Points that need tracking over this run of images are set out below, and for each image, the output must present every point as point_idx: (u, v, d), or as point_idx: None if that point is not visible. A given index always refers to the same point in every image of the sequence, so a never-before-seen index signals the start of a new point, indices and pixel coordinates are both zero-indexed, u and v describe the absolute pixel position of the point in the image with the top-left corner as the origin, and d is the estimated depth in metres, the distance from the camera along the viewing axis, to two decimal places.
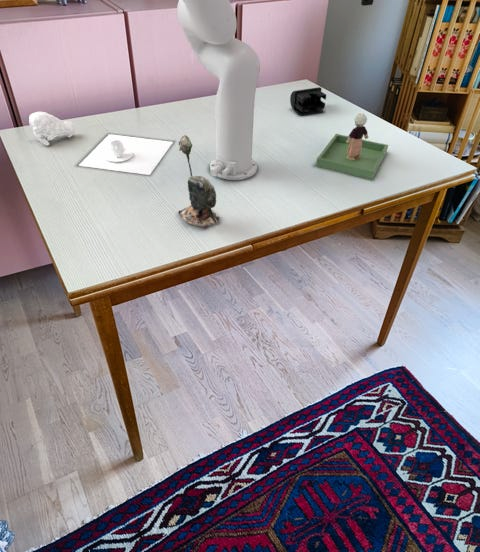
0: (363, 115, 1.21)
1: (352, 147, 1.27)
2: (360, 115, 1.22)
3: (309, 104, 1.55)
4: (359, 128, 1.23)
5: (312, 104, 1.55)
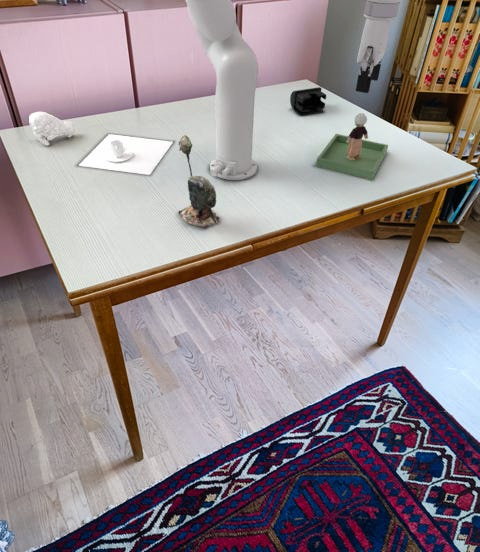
0: (363, 115, 1.21)
1: (352, 147, 1.27)
2: (360, 115, 1.22)
3: (309, 104, 1.55)
4: (359, 128, 1.23)
5: (312, 104, 1.55)
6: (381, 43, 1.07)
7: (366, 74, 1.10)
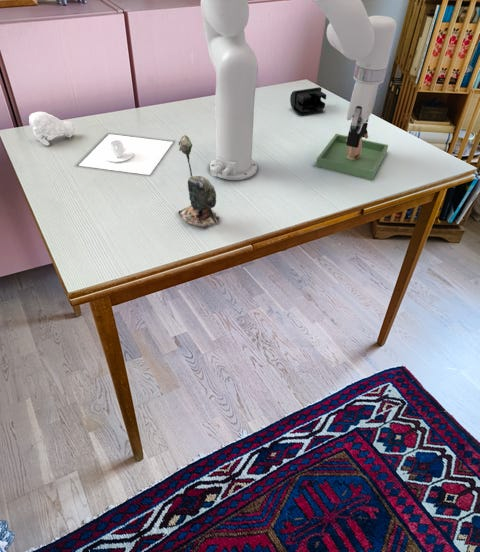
0: None
1: (352, 147, 1.27)
2: None
3: (309, 104, 1.55)
4: None
5: (312, 104, 1.55)
6: (369, 104, 1.15)
7: (356, 132, 1.20)
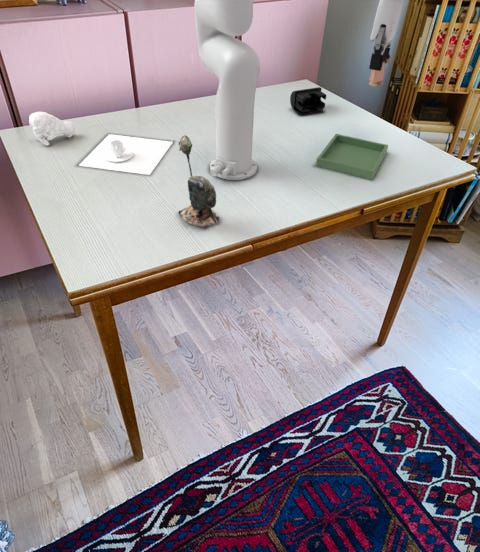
0: None
1: (374, 72, 1.27)
2: None
3: (309, 104, 1.55)
4: None
5: (312, 104, 1.55)
6: (393, 22, 1.16)
7: (379, 53, 1.20)
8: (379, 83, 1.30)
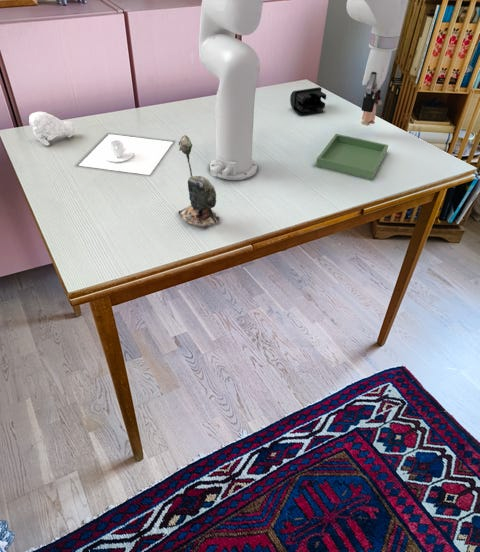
0: None
1: (366, 112, 1.36)
2: None
3: (309, 104, 1.55)
4: None
5: (312, 104, 1.55)
6: (383, 69, 1.25)
7: (370, 97, 1.29)
8: (371, 122, 1.39)
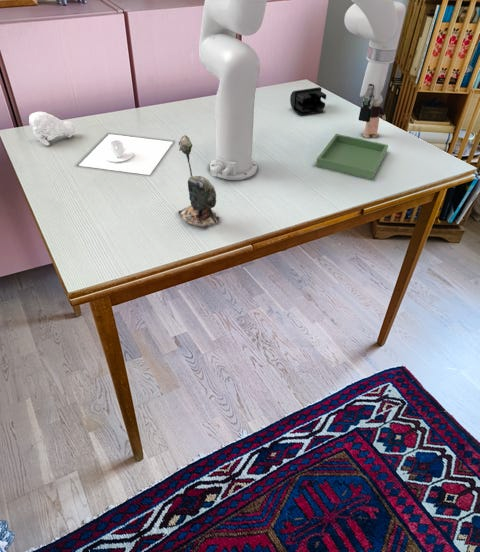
0: None
1: (366, 125, 1.39)
2: None
3: (309, 104, 1.55)
4: (374, 107, 1.36)
5: (312, 104, 1.55)
6: (380, 82, 1.27)
7: (367, 107, 1.30)
8: (372, 135, 1.41)
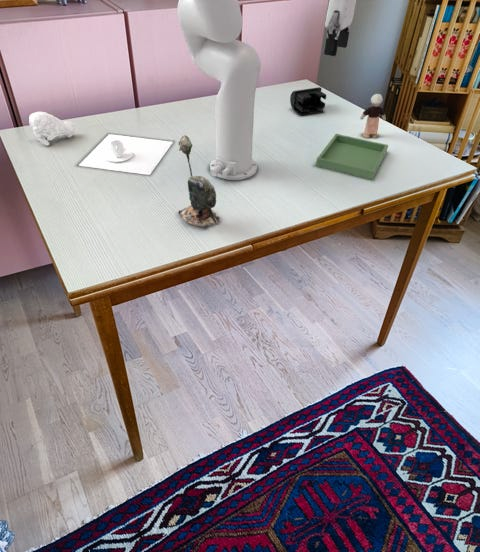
0: (378, 95, 1.33)
1: (366, 125, 1.39)
2: (376, 95, 1.34)
3: (309, 104, 1.55)
4: (374, 107, 1.36)
5: (312, 104, 1.55)
6: (347, 8, 1.16)
7: (333, 37, 1.18)
8: (372, 135, 1.41)
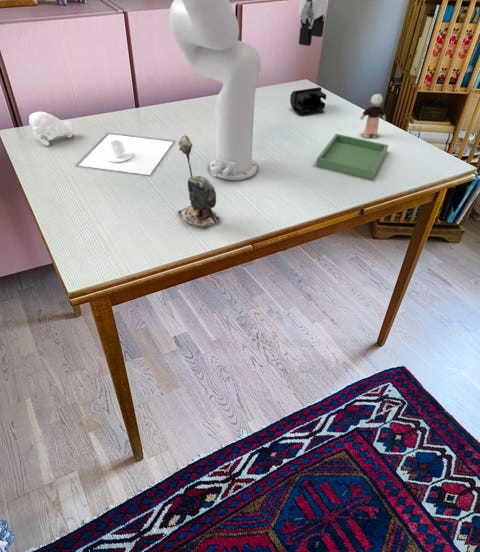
0: (378, 95, 1.33)
1: (366, 125, 1.39)
2: (376, 95, 1.34)
3: (309, 104, 1.55)
4: (374, 107, 1.36)
5: (312, 104, 1.55)
6: None
7: (306, 26, 1.17)
8: (372, 135, 1.41)
